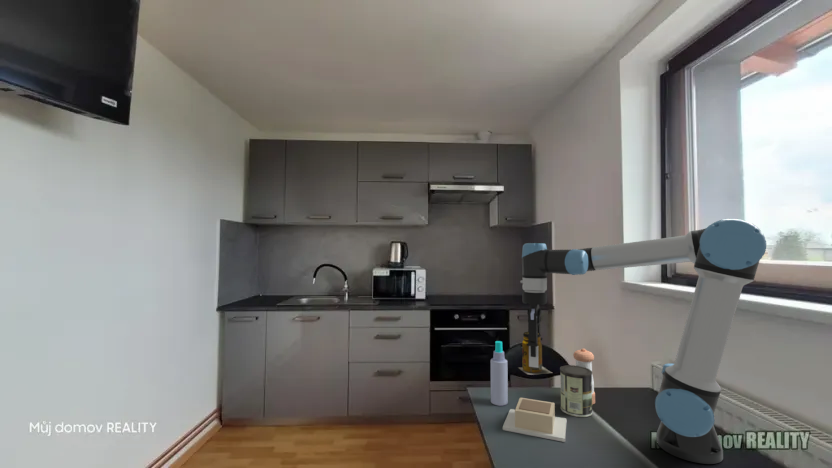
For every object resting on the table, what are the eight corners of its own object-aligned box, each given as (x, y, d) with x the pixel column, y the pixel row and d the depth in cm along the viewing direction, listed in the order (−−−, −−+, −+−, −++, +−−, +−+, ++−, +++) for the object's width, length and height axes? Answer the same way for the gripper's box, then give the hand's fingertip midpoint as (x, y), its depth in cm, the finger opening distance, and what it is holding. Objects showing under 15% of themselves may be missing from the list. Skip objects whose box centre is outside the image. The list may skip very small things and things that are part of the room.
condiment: (517, 367, 123) (517, 331, 124) (541, 366, 125) (541, 330, 125) (527, 375, 116) (527, 336, 116) (553, 374, 117) (552, 335, 118)
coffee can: (585, 404, 135) (585, 365, 136) (597, 418, 125) (597, 375, 125) (556, 403, 136) (556, 364, 136) (566, 417, 126) (565, 374, 126)
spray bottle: (506, 399, 140) (506, 340, 140) (508, 406, 134) (508, 344, 134) (489, 399, 140) (489, 339, 141) (491, 405, 134) (491, 343, 135)
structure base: (566, 421, 122) (566, 402, 122) (565, 442, 109) (564, 420, 110) (510, 411, 129) (510, 393, 130) (502, 429, 117) (502, 409, 117)
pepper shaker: (572, 402, 138) (571, 349, 138) (575, 395, 144) (574, 344, 144) (594, 406, 134) (593, 352, 134) (596, 399, 140) (595, 347, 140)
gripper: (526, 287, 131) (526, 354, 130) (518, 293, 114) (518, 371, 113) (548, 288, 128) (549, 357, 127) (544, 295, 111) (544, 374, 110)
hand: (534, 363), depth 120 cm, fingers closed on condiment, 6 cm apart
